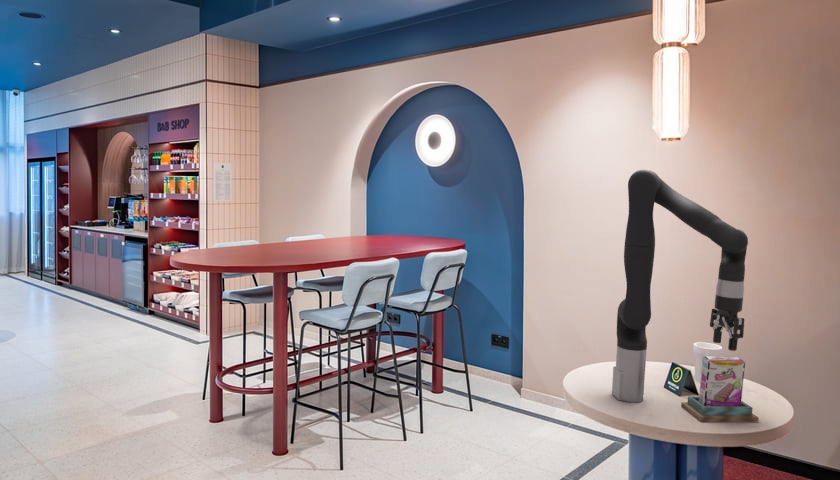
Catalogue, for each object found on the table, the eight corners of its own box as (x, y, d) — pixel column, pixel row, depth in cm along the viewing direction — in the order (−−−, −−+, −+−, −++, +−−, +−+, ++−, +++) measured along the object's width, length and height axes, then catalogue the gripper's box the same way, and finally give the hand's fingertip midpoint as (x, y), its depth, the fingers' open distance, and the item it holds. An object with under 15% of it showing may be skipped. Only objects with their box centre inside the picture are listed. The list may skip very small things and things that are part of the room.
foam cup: (686, 379, 220) (689, 345, 218) (696, 374, 226) (699, 340, 225) (713, 386, 213) (716, 350, 212) (723, 381, 219) (726, 346, 218)
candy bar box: (704, 411, 185) (708, 359, 183) (697, 405, 190) (701, 355, 188) (741, 413, 184) (746, 361, 183) (734, 407, 189) (738, 356, 188)
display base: (700, 421, 181) (701, 409, 180) (681, 406, 193) (682, 394, 192) (758, 422, 182) (759, 409, 181) (735, 407, 194) (736, 395, 193)
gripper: (755, 299, 176) (749, 353, 178) (728, 290, 190) (723, 340, 192) (730, 298, 176) (725, 352, 177) (705, 289, 190) (700, 339, 192)
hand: (724, 346), depth 185 cm, fingers open, 8 cm apart
